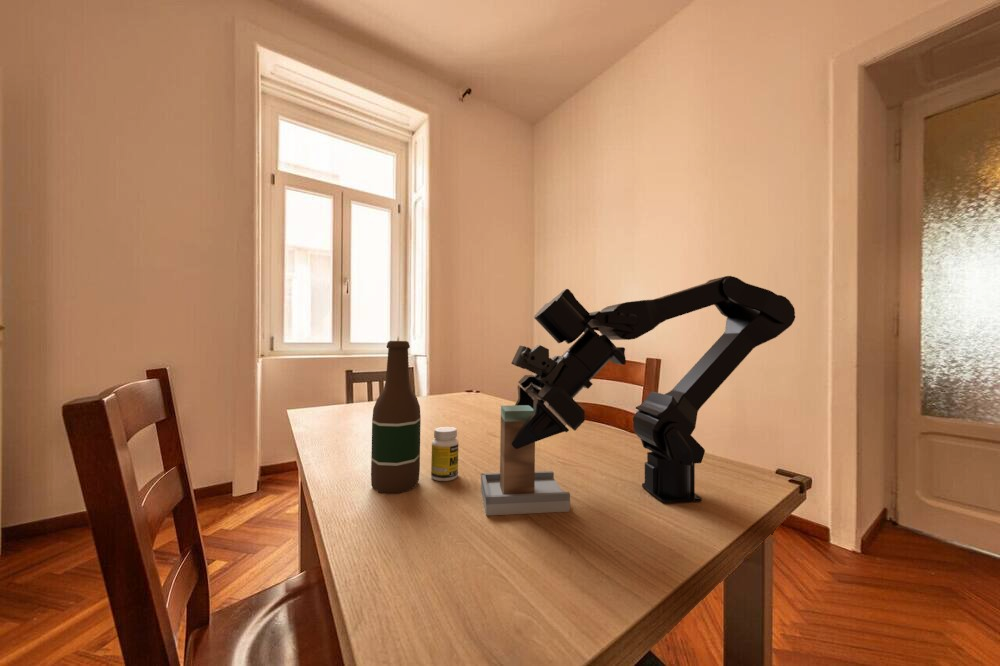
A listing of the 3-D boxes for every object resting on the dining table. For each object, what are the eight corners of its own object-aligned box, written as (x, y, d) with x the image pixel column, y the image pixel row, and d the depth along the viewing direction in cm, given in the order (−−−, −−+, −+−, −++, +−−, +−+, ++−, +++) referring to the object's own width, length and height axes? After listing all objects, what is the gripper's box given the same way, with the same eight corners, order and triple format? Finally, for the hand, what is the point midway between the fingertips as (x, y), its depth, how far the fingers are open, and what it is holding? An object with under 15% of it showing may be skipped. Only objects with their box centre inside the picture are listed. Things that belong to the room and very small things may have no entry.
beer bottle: (417, 474, 65) (419, 341, 65) (421, 491, 57) (424, 341, 58) (371, 479, 62) (374, 340, 63) (370, 497, 55) (373, 340, 55)
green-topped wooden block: (528, 484, 57) (528, 405, 57) (534, 497, 52) (535, 410, 53) (499, 485, 56) (500, 405, 56) (503, 498, 52) (504, 411, 52)
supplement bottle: (452, 483, 61) (453, 433, 61) (426, 480, 62) (427, 431, 62) (461, 473, 66) (462, 426, 66) (437, 470, 67) (437, 425, 67)
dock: (552, 486, 60) (552, 471, 60) (569, 511, 51) (570, 493, 51) (480, 489, 59) (481, 473, 59) (486, 515, 50) (486, 497, 50)
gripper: (530, 329, 65) (468, 391, 63) (561, 325, 46) (474, 412, 44) (572, 373, 65) (512, 435, 64) (619, 386, 47) (536, 474, 45)
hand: (508, 437), depth 54 cm, fingers open, 9 cm apart
